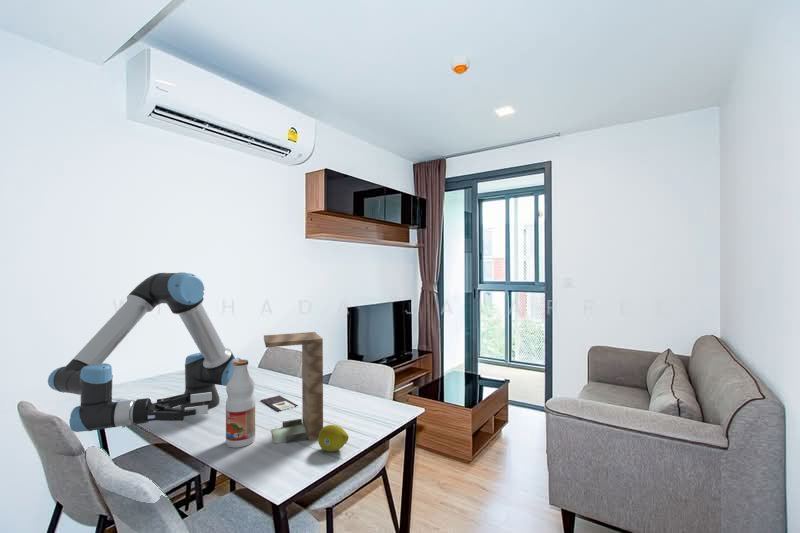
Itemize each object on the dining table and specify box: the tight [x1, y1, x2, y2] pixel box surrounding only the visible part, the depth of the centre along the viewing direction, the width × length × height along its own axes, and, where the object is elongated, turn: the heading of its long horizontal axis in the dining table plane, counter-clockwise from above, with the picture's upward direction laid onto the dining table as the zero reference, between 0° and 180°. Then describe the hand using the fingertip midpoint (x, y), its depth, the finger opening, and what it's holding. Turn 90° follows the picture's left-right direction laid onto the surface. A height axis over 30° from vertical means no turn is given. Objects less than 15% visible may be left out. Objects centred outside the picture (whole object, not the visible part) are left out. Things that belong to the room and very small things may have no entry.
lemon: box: [317, 424, 349, 453], centre depth 123 cm, size 11×8×8 cm
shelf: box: [263, 331, 324, 444], centre depth 136 cm, size 19×16×35 cm
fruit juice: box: [225, 359, 256, 448], centre depth 130 cm, size 9×9×28 cm
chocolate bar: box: [260, 394, 299, 413], centre depth 166 cm, size 9×1×18 cm
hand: (210, 402), depth 126 cm, fingers open, 13 cm apart
